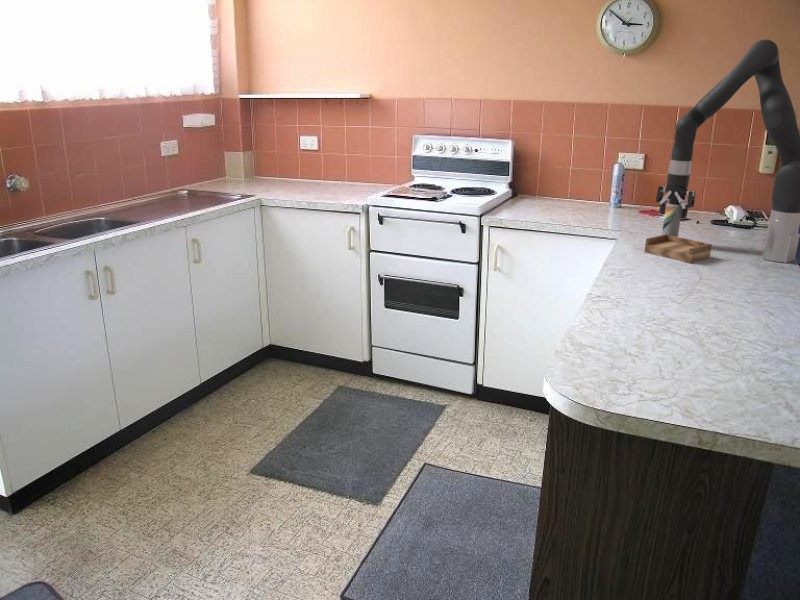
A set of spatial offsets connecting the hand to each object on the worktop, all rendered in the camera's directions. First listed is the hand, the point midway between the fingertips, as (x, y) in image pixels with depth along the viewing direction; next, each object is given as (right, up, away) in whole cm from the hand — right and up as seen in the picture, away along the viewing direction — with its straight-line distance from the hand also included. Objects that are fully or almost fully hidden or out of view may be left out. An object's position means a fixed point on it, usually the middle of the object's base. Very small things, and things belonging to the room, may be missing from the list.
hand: (672, 216), depth 249 cm
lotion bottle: (0, -10, +3) cm, 11 cm away
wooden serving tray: (-3, -15, -12) cm, 20 cm away
